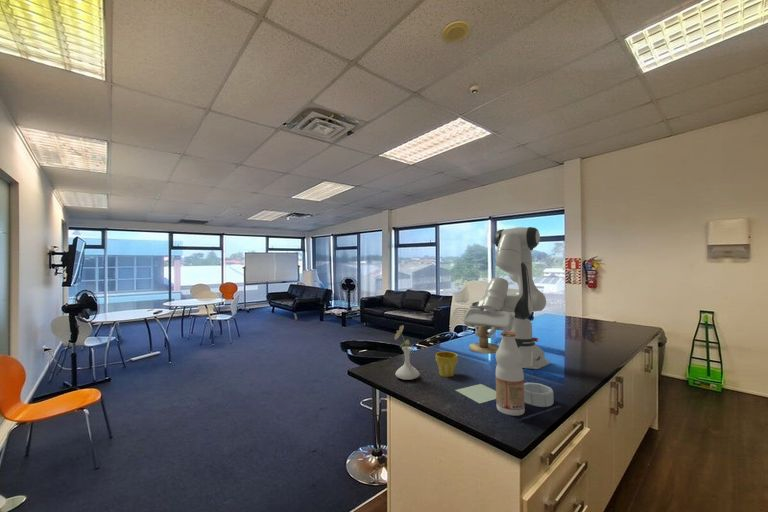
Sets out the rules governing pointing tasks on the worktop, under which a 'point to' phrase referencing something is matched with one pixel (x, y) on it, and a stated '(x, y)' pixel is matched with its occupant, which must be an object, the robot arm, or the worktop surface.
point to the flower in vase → (406, 360)
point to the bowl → (538, 394)
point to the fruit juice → (509, 376)
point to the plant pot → (446, 363)
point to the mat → (478, 393)
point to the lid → (483, 343)
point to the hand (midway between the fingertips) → (482, 336)
